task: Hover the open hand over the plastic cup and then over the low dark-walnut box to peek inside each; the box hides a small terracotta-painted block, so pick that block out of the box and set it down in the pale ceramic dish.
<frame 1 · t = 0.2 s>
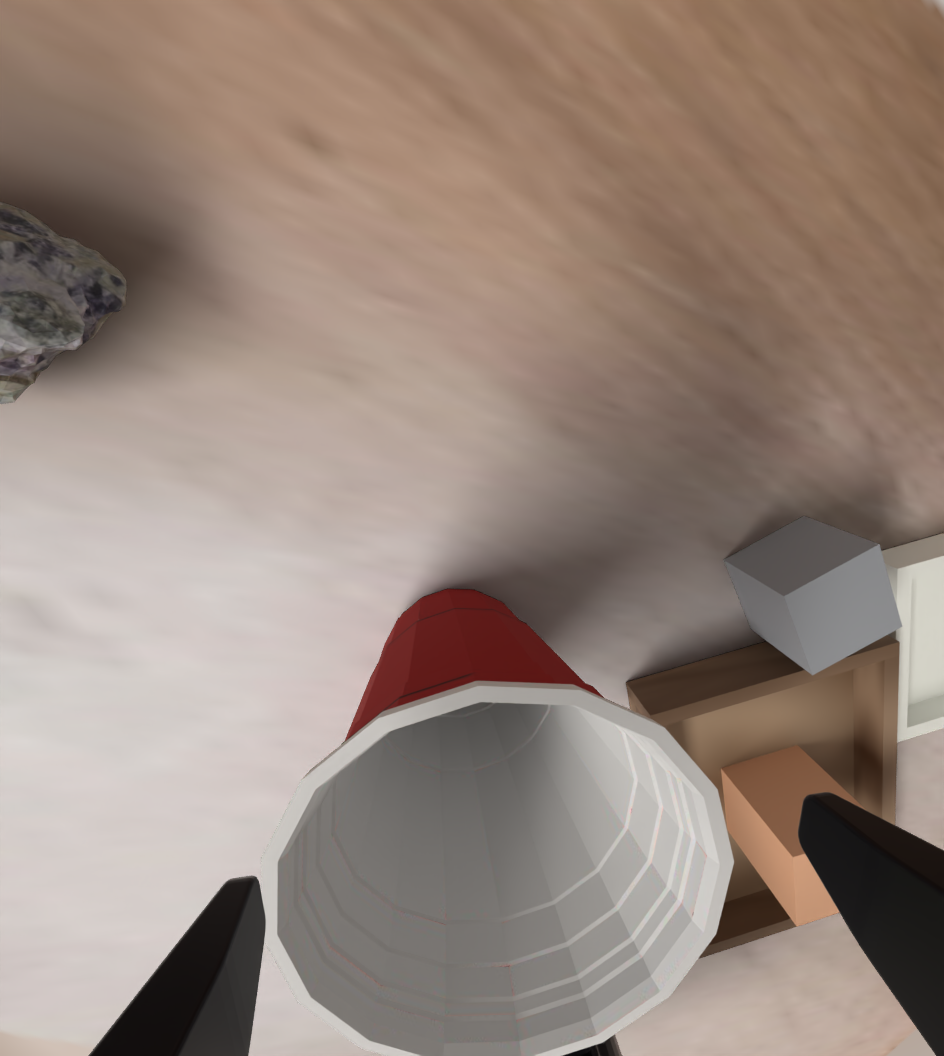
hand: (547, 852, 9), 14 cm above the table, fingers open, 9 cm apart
plastic cup: (450, 643, 23), on the table
walnut box: (751, 776, 28), on the table
terracotta block: (761, 788, 27), point 1 cm above the table, touching walnut box
slate rubber block: (775, 573, 25), on the table
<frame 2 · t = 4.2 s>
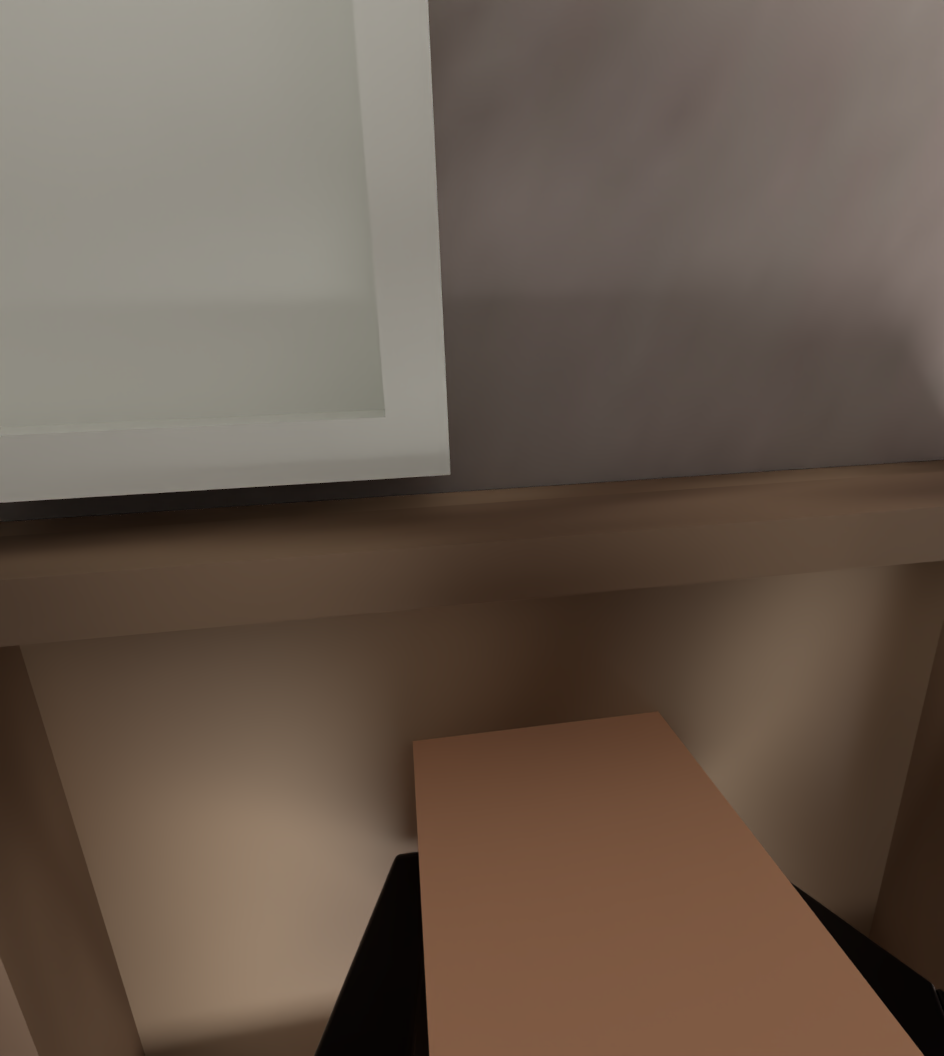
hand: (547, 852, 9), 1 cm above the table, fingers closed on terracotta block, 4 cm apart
walnut box: (527, 791, 10), on the table
terracotta block: (538, 826, 9), point 1 cm above the table, touching gripper, walnut box
when the fingers open (2 cm above the table, at t = 8.2 s): terracotta block drops 2 cm, resting on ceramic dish.
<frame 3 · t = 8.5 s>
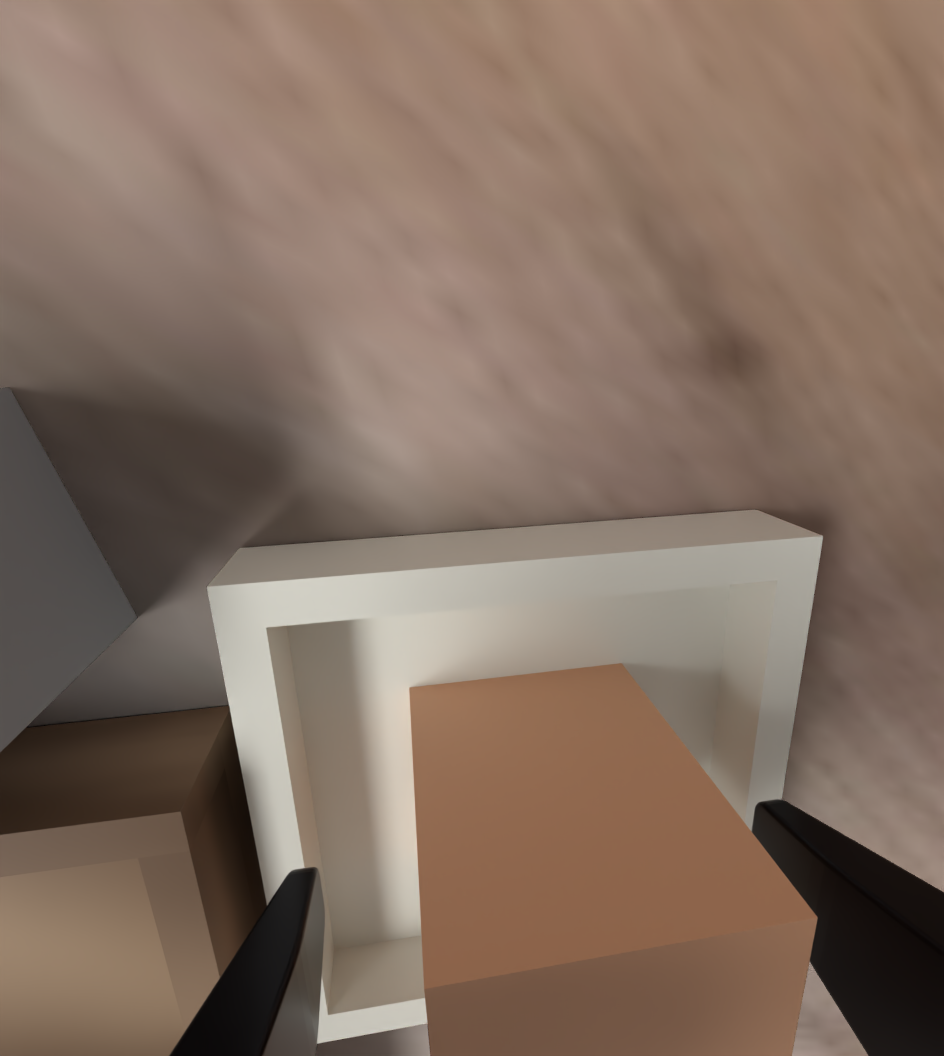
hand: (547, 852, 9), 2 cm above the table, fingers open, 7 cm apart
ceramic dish: (516, 748, 11), on the table
walnut box: (9, 1050, 11), on the table
terracotta block: (519, 765, 11), resting on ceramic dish
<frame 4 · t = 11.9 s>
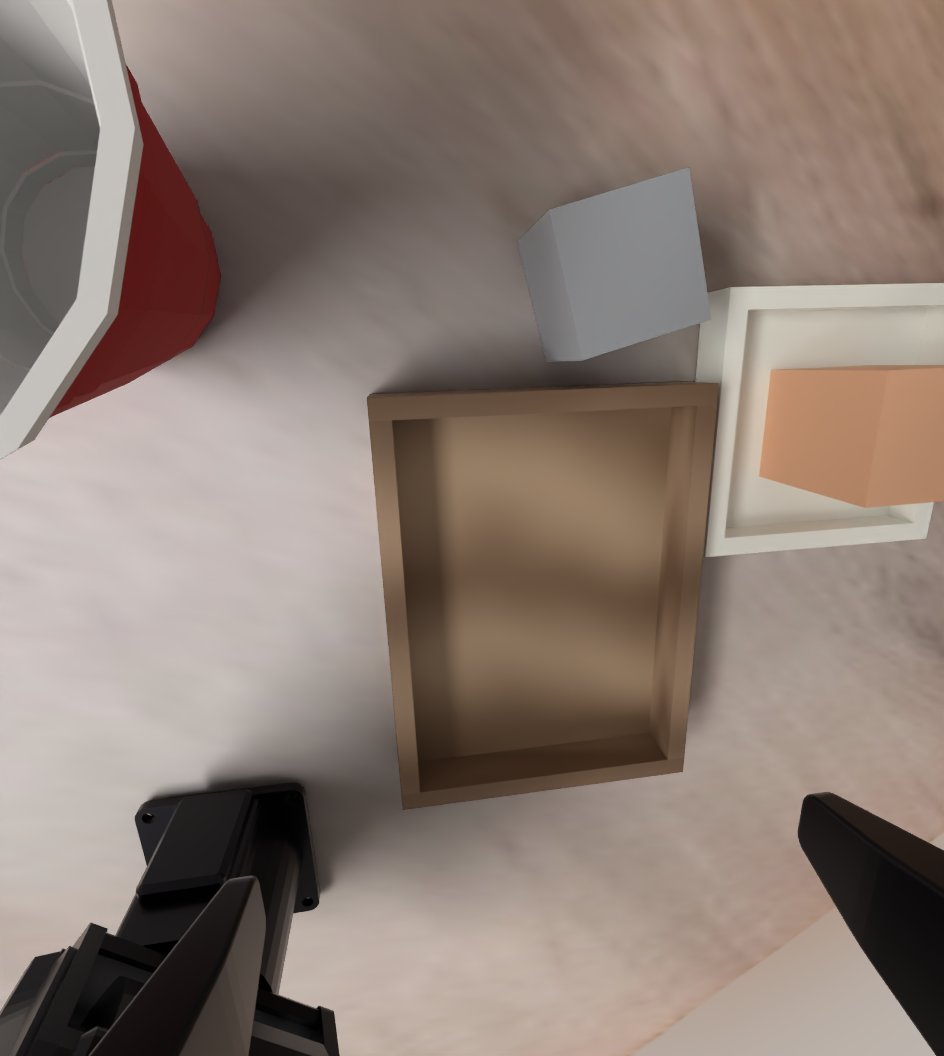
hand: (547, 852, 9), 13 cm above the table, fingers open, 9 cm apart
plastic cup: (120, 261, 17), on the table
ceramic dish: (804, 420, 21), on the table
walnut box: (531, 586, 22), on the table
terracotta block: (812, 421, 21), resting on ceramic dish
slate rubber block: (585, 287, 19), on the table
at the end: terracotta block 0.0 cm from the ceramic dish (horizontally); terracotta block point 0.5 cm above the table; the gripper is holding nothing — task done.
